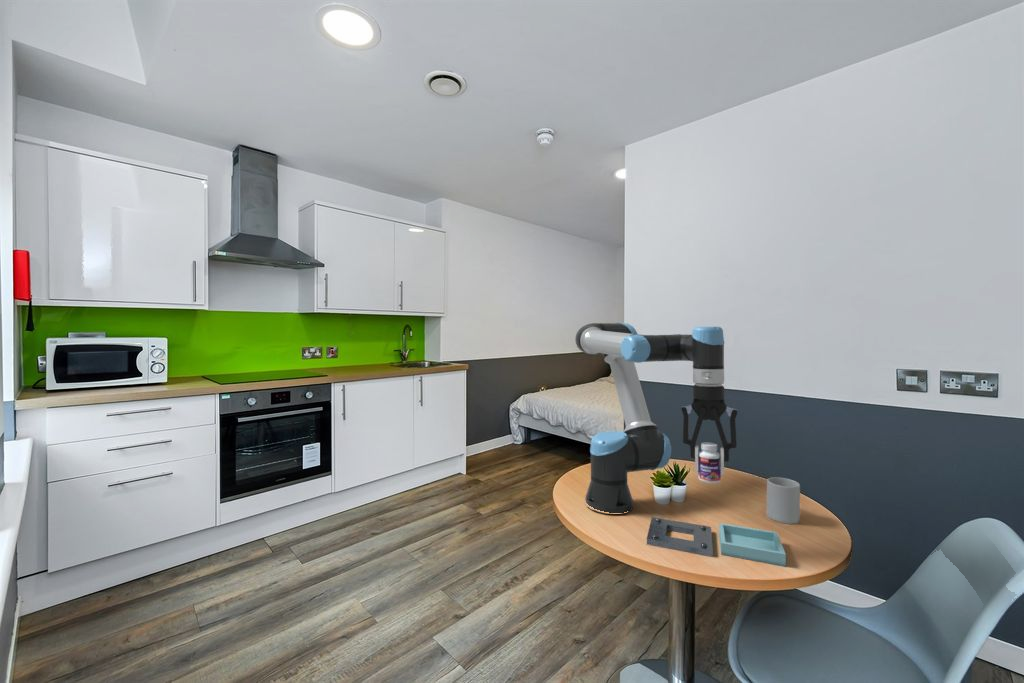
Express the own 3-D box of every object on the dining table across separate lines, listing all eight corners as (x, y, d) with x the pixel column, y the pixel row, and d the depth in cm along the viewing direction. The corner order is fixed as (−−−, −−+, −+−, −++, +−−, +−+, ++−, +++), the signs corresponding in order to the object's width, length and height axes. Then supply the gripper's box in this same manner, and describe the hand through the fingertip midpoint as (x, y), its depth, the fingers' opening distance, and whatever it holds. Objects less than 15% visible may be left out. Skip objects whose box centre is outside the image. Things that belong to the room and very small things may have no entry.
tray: (721, 554, 108) (721, 542, 108) (718, 533, 119) (718, 522, 119) (785, 566, 102) (785, 554, 102) (776, 543, 113) (777, 532, 113)
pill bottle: (698, 482, 111) (697, 445, 111) (698, 476, 116) (697, 440, 116) (721, 485, 109) (720, 447, 109) (720, 478, 114) (719, 442, 114)
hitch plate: (646, 544, 113) (646, 536, 113) (651, 521, 126) (651, 515, 126) (712, 556, 107) (712, 549, 107) (711, 532, 120) (711, 525, 120)
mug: (804, 525, 123) (805, 488, 123) (771, 522, 125) (771, 485, 125) (789, 508, 135) (790, 474, 134) (759, 505, 137) (760, 472, 137)
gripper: (670, 384, 113) (671, 471, 113) (749, 387, 105) (750, 480, 105) (672, 382, 120) (674, 464, 120) (747, 384, 112) (748, 472, 112)
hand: (709, 471), depth 112 cm, fingers closed on pill bottle, 5 cm apart
